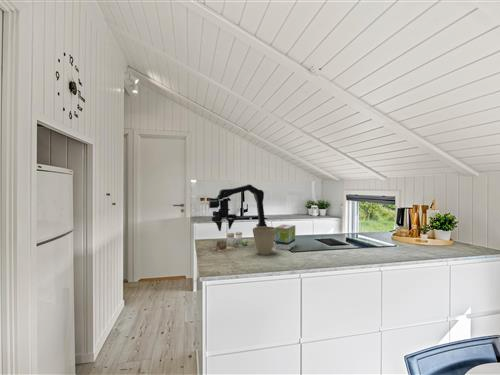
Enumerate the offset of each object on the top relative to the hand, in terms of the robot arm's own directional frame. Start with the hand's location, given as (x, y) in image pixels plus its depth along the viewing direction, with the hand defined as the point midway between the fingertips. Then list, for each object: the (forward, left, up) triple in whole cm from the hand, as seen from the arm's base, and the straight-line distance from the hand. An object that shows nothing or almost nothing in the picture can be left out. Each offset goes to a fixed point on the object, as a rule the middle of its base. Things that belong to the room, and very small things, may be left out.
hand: (224, 230), depth 197 cm
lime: (-6, -14, -12) cm, 20 cm away
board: (-3, +4, -12) cm, 13 cm away
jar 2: (0, -5, -12) cm, 13 cm away
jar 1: (+3, -9, -12) cm, 16 cm away
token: (-4, +6, -11) cm, 13 cm away
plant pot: (-31, -5, -12) cm, 33 cm away
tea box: (-32, -27, -13) cm, 44 cm away
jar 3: (+1, -15, -12) cm, 20 cm away
